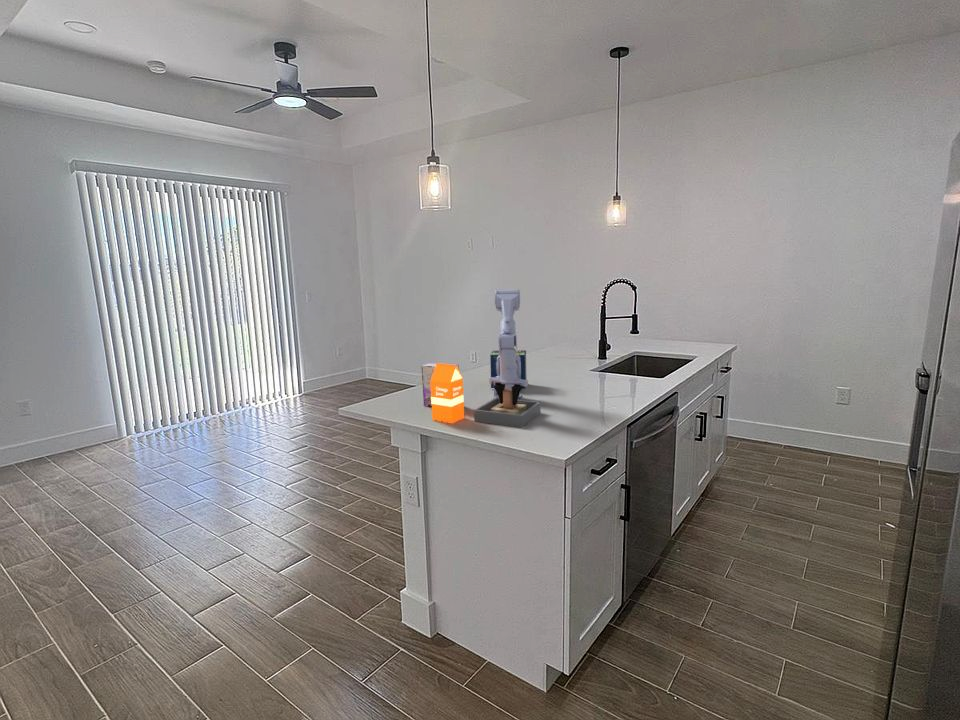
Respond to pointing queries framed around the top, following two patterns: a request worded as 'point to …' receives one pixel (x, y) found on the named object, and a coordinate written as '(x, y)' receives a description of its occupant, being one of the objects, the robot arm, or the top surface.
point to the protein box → (494, 365)
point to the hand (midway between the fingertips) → (508, 403)
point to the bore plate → (517, 409)
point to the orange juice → (447, 393)
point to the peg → (508, 399)
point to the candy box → (428, 381)
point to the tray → (506, 414)
